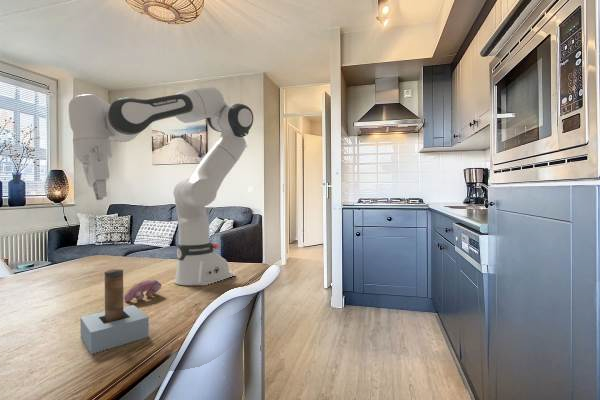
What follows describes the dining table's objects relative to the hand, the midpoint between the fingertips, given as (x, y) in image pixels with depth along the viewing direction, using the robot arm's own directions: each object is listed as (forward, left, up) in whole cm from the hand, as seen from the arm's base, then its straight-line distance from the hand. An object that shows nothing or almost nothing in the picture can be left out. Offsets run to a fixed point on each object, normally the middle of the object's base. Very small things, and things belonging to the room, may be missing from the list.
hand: (101, 198), depth 88 cm
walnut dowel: (+3, +25, -31) cm, 40 cm away
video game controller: (-11, +2, -32) cm, 34 cm away
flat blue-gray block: (+3, +25, -31) cm, 40 cm away
